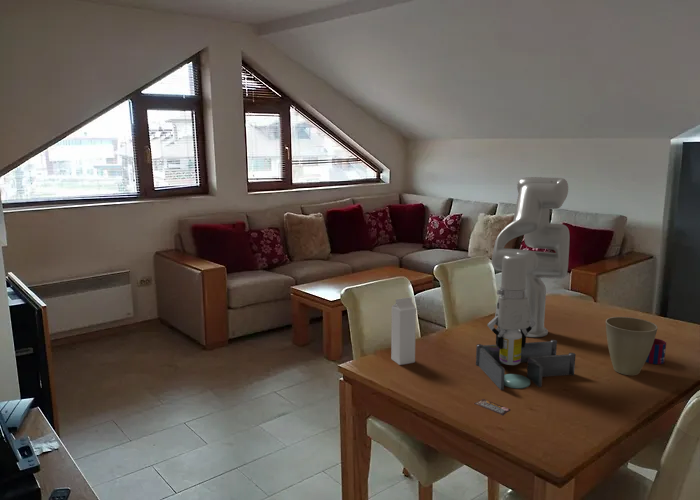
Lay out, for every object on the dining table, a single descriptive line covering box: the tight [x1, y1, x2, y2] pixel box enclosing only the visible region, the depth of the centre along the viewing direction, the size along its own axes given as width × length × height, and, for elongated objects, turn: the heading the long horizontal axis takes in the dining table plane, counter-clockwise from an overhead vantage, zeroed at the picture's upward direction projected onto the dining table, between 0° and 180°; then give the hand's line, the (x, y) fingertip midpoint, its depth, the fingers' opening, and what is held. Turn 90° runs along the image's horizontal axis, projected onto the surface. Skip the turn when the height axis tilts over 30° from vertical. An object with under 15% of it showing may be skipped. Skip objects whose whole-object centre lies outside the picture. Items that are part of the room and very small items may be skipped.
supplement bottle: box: [500, 329, 522, 366], centre depth 187 cm, size 7×7×13 cm
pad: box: [504, 373, 531, 389], centre depth 180 cm, size 9×9×1 cm
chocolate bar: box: [472, 398, 512, 416], centre depth 164 cm, size 11×5×1 cm, turn 42°
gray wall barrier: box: [475, 339, 577, 391], centre depth 186 cm, size 20×28×7 cm
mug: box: [645, 337, 667, 365], centre depth 196 cm, size 7×10×7 cm
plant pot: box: [605, 316, 658, 376], centre depth 186 cm, size 15×15×16 cm
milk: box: [390, 296, 417, 366], centre depth 195 cm, size 6×6×22 cm
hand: (510, 346), depth 187 cm, fingers closed on supplement bottle, 6 cm apart
